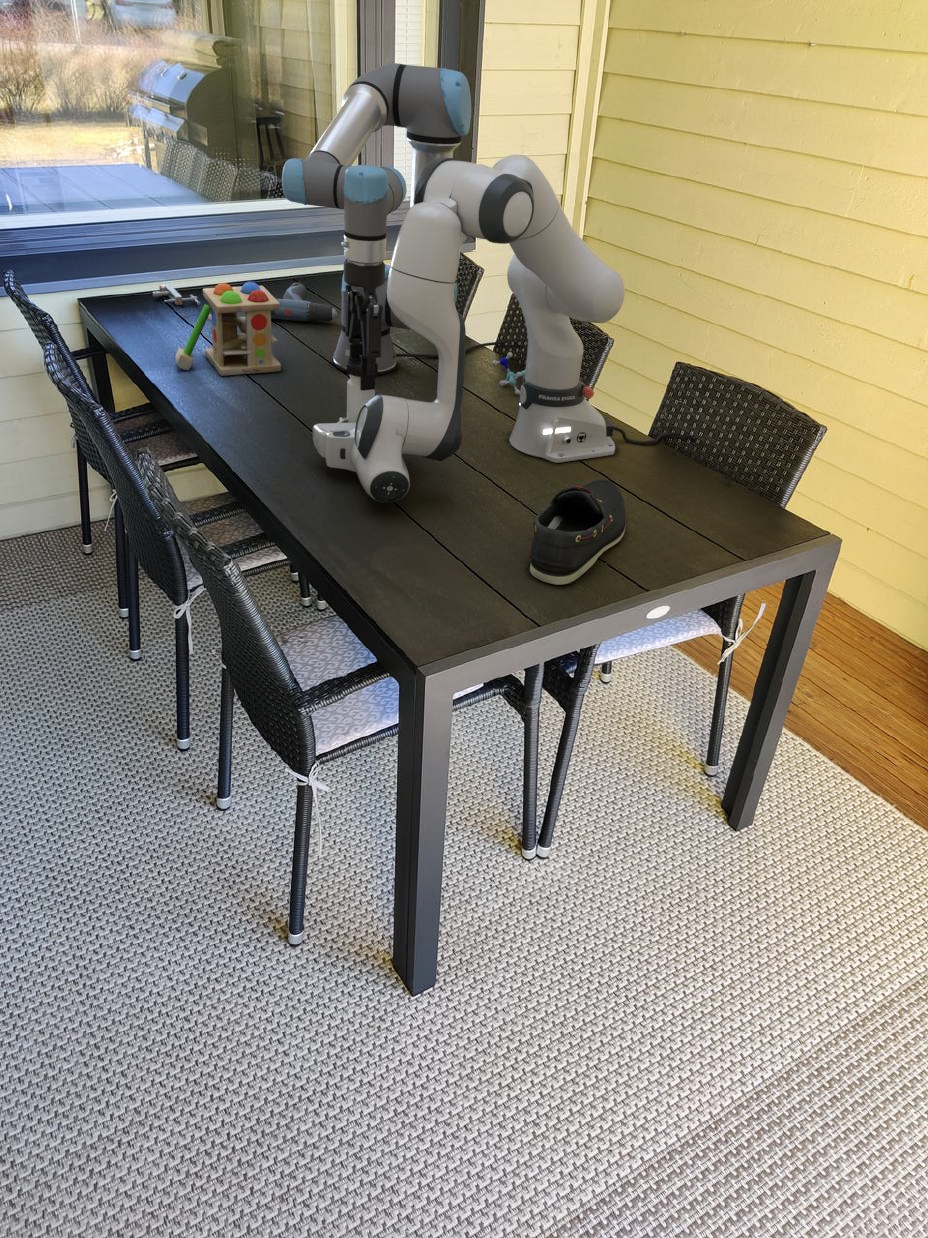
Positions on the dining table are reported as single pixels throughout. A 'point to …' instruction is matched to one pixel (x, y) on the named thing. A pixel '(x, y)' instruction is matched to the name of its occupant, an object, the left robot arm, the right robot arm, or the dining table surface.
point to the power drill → (301, 307)
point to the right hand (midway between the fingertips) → (359, 420)
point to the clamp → (173, 295)
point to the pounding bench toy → (229, 347)
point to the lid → (356, 366)
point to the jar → (356, 398)
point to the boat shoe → (576, 531)
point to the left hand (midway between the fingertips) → (361, 382)
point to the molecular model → (509, 373)
